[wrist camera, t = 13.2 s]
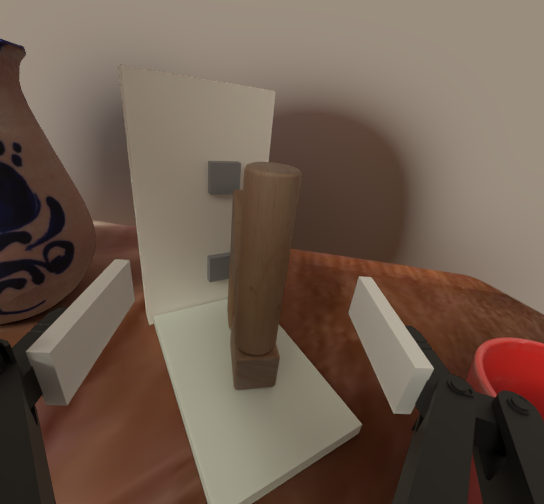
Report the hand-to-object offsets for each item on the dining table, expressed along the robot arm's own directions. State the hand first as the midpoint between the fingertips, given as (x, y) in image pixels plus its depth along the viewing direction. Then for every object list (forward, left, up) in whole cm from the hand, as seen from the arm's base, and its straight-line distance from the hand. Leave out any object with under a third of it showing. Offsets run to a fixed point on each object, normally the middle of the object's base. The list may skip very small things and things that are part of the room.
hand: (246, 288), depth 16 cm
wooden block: (-6, +4, -12) cm, 14 cm away
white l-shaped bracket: (-6, +3, -13) cm, 14 cm away
